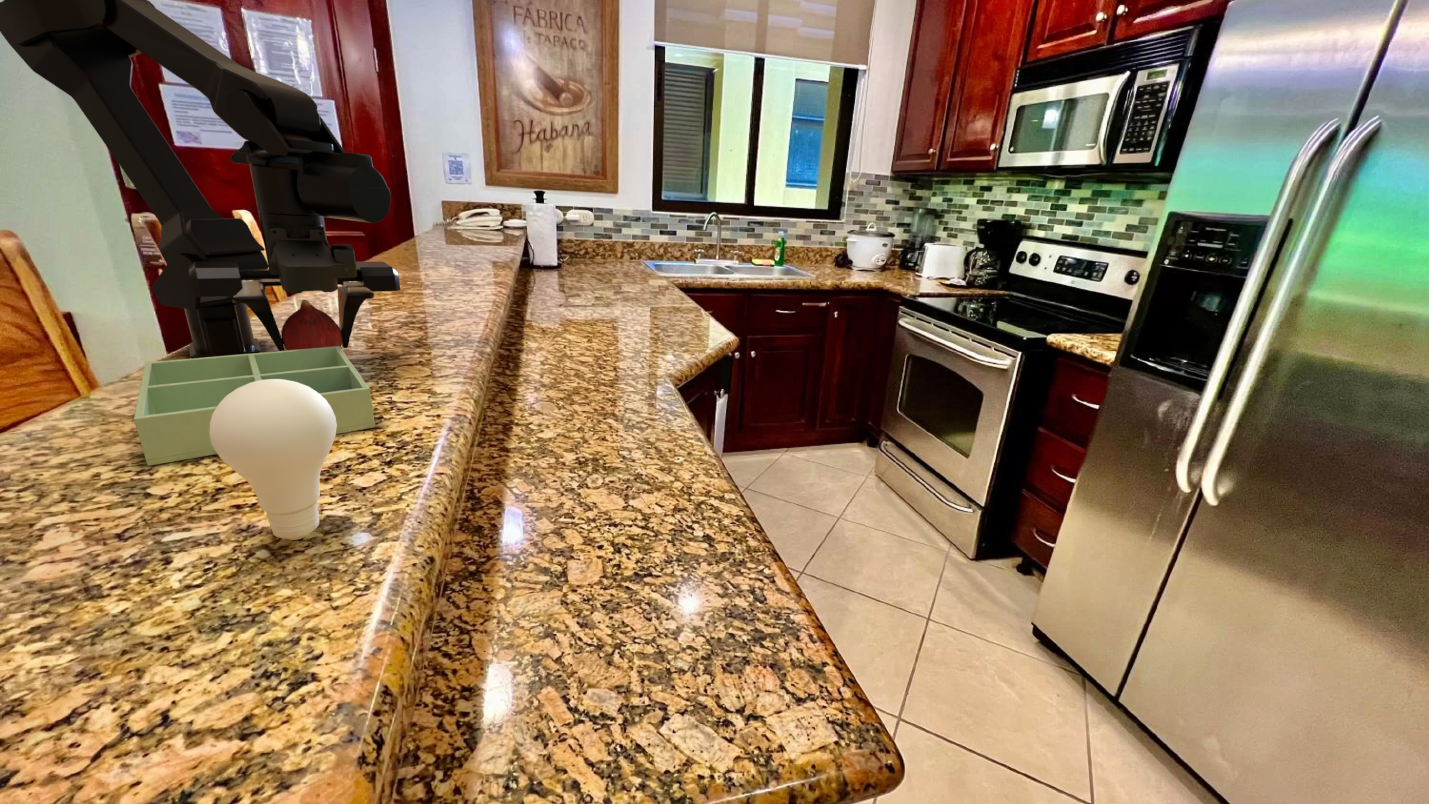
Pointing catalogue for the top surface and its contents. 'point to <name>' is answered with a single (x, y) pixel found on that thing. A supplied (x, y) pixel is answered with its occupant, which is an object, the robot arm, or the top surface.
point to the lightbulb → (277, 448)
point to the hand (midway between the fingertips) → (314, 350)
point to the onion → (310, 329)
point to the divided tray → (194, 388)
